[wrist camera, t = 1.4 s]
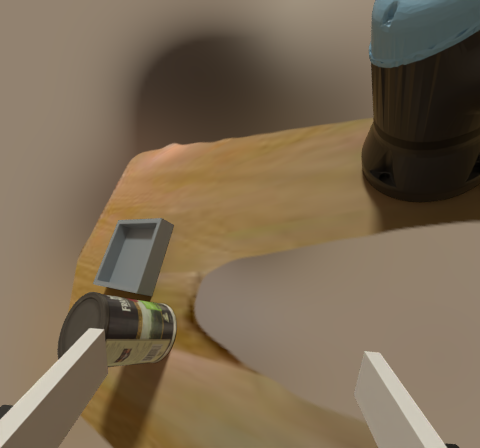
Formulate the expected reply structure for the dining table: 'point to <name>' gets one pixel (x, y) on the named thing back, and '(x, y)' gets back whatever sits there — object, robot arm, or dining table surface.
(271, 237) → the dining table surface
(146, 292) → the tray
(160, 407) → the dining table surface
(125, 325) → the coffee can
